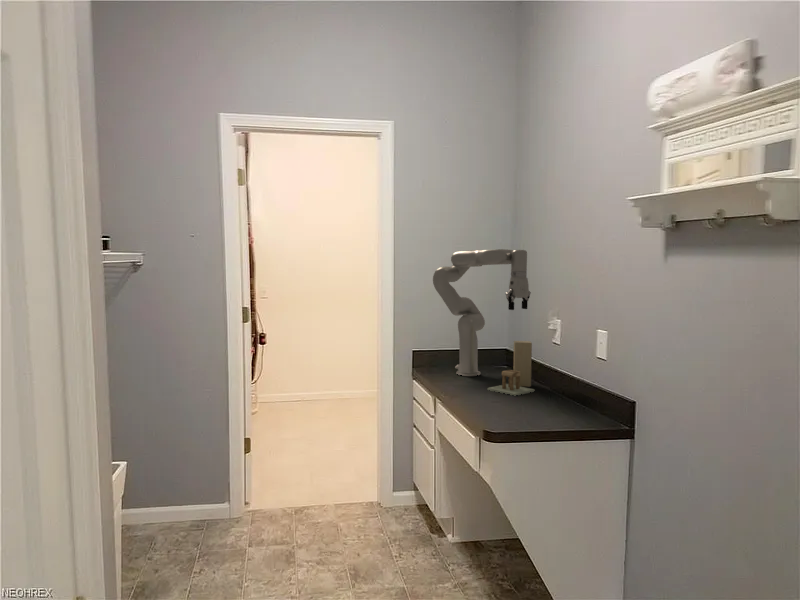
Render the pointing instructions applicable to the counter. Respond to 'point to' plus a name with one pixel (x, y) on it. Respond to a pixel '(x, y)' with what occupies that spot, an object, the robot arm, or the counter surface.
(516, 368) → the beige block
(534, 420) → the counter surface
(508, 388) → the sage mat
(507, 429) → the counter surface
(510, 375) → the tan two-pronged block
